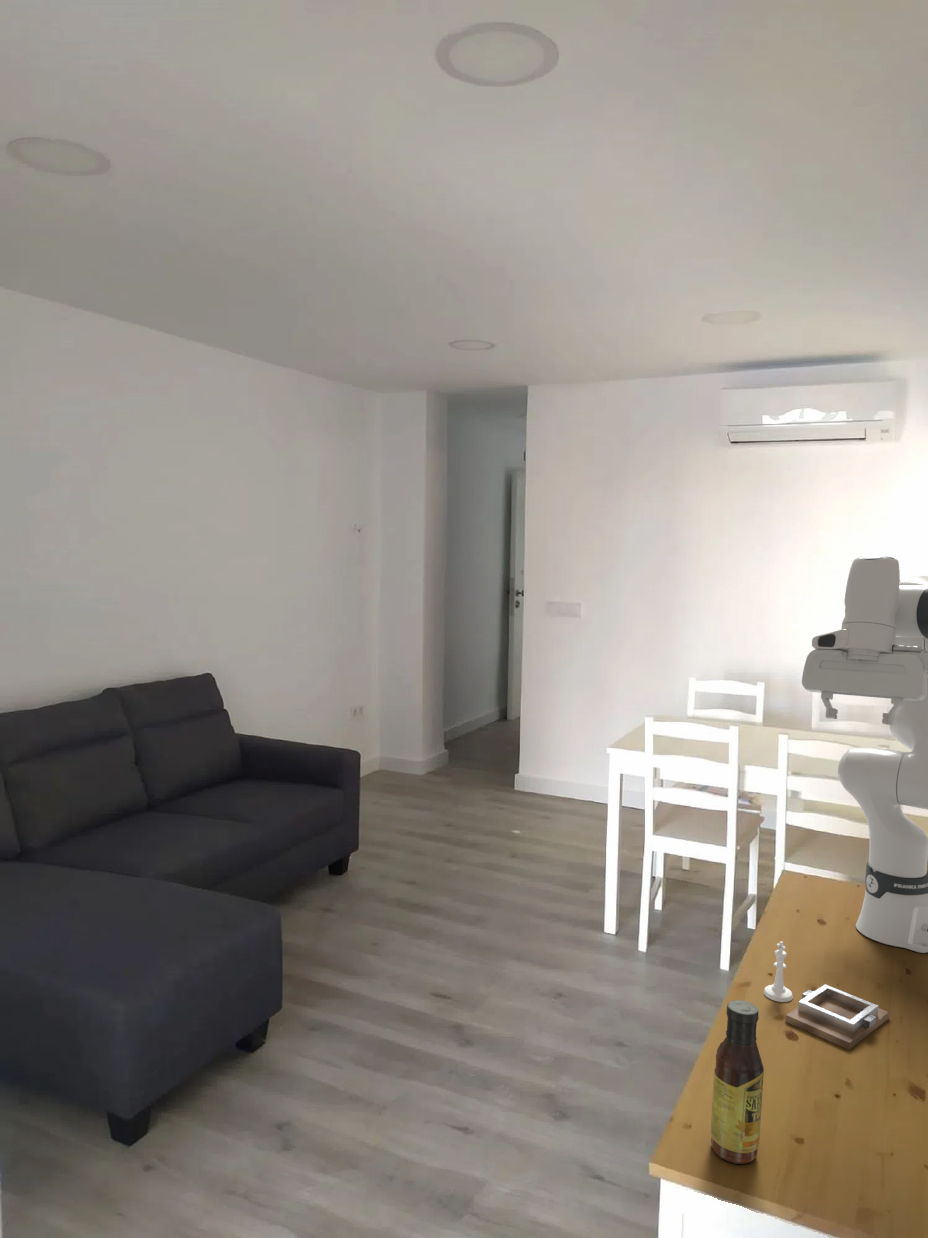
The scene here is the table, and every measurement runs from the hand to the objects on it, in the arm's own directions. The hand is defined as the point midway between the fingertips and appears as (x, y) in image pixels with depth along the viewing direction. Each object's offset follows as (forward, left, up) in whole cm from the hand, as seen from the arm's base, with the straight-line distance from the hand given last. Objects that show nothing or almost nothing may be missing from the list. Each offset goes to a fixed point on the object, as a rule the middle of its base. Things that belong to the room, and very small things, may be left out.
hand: (858, 721), depth 155 cm
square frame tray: (+4, +6, -50) cm, 50 cm away
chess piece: (+10, -4, -51) cm, 52 cm away
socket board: (+4, +6, -51) cm, 51 cm away
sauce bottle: (+39, +33, -51) cm, 72 cm away
